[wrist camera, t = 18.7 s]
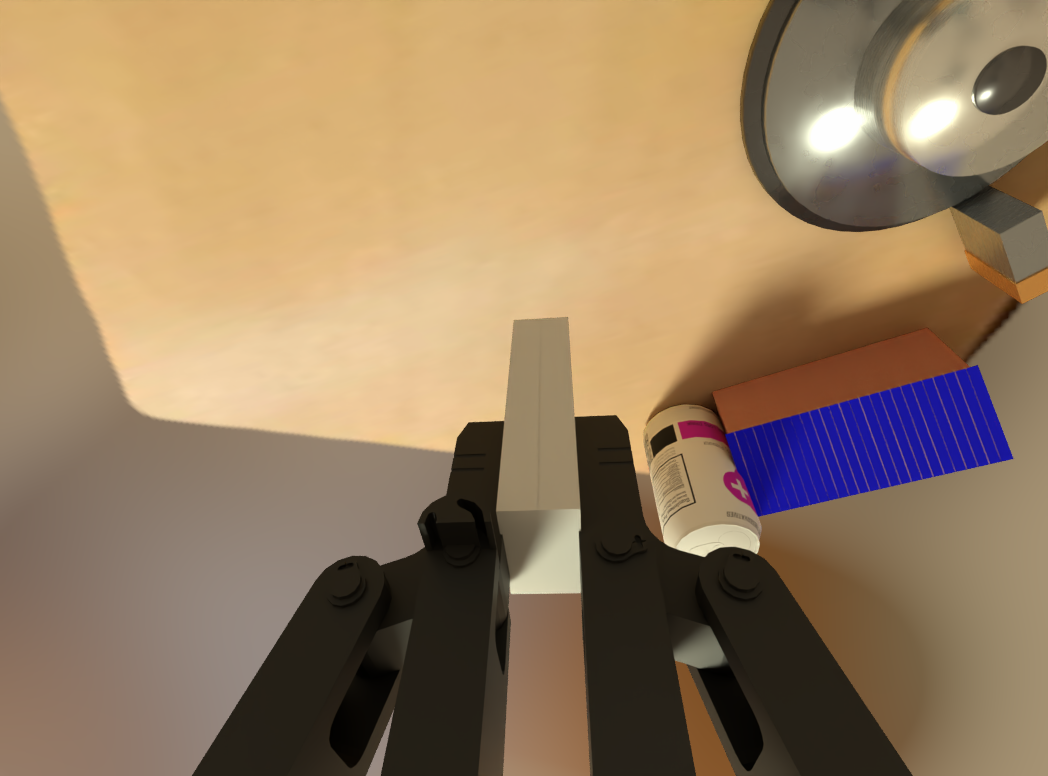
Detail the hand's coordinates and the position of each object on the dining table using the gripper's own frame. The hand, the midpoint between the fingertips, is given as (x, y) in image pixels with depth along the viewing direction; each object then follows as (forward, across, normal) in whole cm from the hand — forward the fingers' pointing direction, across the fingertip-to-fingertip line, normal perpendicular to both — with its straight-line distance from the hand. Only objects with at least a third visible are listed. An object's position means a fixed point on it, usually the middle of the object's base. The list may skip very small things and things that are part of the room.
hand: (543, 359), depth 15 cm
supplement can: (+30, +13, -31) cm, 45 cm away
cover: (+27, +25, +2) cm, 37 cm away
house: (+30, +26, -28) cm, 49 cm away
